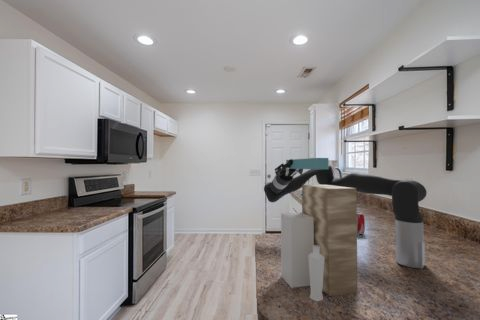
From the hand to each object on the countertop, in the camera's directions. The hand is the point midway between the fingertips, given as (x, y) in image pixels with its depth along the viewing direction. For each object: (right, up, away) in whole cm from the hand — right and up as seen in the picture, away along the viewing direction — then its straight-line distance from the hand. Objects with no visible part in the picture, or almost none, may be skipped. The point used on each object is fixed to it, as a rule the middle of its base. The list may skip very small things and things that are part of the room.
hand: (296, 160), depth 101 cm
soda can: (+44, -43, +35) cm, 71 cm away
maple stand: (+5, -41, -22) cm, 47 cm away
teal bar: (+2, -3, -7) cm, 7 cm away
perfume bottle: (-2, -41, -32) cm, 52 cm away
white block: (-5, -41, -22) cm, 46 cm away
